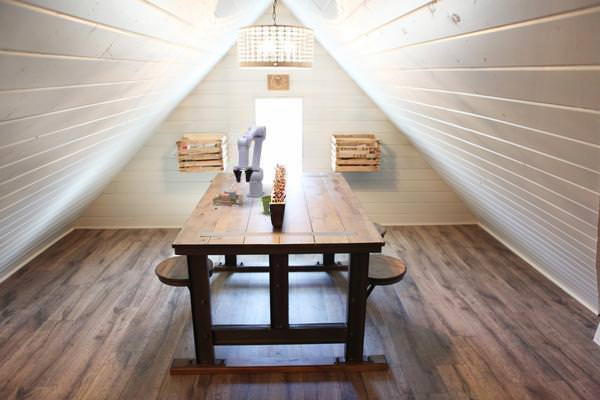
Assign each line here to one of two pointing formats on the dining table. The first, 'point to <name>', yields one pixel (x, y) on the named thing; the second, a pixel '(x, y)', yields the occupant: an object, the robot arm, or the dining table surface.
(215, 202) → the lane shelf
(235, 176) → the robot arm
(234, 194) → the grey block
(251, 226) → the dining table surface
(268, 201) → the plant pot
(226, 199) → the tethered block
